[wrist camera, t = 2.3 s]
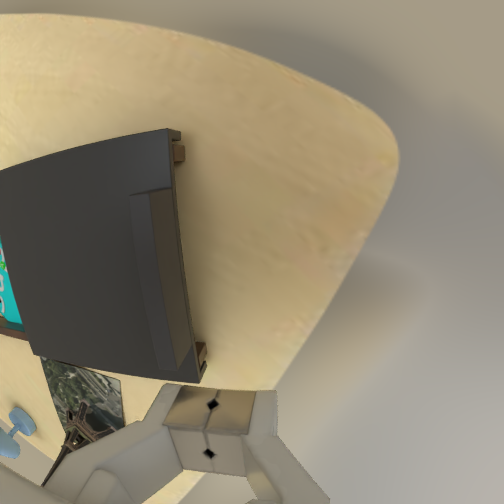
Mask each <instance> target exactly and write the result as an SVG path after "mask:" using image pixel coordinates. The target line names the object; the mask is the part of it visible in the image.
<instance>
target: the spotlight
mask: <svg viewBox="0 0 504 504" xmlns="http://www.w3.org/2000/svg"><path fill="white" fill-rule="evenodd" d="M9 418H10V420H11V421H12V423H13V424H14V427H13V428H12V430H11V431H10V432H9V433H8V434H7V433H6V432H5V431H4V430H3V429H2V428H1V427H0V455H2V456H6V457H10V458H14V459H15V458H17V457H18V456H19V454H20V446H19V444H18V443H17V442H16V441H15V440H14V439H12V438H13V435H14V434H15V433H16V432H17V431H18V430H19V431H20V432H22V433H23V434H25V435H27V436H30V435H31V434H32V433H33V432H34V431H35V430H36V426H35V423H34V422H33V420H32V419H31V418H30V417H29V416H28V414H27V413H25V412H24V411H23V410H22V409H20V408H18V407H15V408H14V409H13V410H12V411H11V412H10V413H9Z"/></svg>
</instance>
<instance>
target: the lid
mask: <svg viewBox="0 0 504 504" xmlns="http://www.w3.org/2000/svg"><path fill="white" fill-rule="evenodd" d="M180 140H181V132H180V131H176V130H172V129H168V128H166V129H160V130H154V131H148V132H143V133H137V134H132V135H127V136H122V137H117V138H113V139H108V140H104V141H99V142H95V143H91V144H87V145H83V146H79V147H75V148H71V149H67V150H64V151H60V152H56V153H53V154H49V155H46V156H43V157H39V158H36V159H33V160H30V161H27V162H24V163H21V164H18V165H15V166H12V167H9V168H6V169H3V170H0V239H1V244H2V249H3V254H4V259H5V263H6V268H7V272H8V276H9V280H10V284H11V288H12V291H13V295H14V298H15V302H16V305H17V308H18V312H19V315H20V318H21V321H22V324H23V327H24V330H25V333H26V335H27V338H28V341H29V344H30V346H31V349H32V351H33V354H34V355H37V356H41V357H44V358H48V359H52V360H56V361H60V362H65V363H69V364H73V365H78V366H83V367H87V368H92V369H97V370H103V371H108V372H114V373H119V374H125V375H132V376H138V377H145V378H152V379H160V380H168V381H177V382H186V383H197V384H199V383H200V381H201V379H202V377H203V374H204V372H205V370H206V367H207V364H206V361H203V363H202V365H201V368H199V363H198V357H197V351H196V346H195V340H194V334H193V327H192V321H191V315H190V308H189V301H188V294H187V287H186V280H185V272H184V264H183V256H182V248H181V239H180V230H179V221H178V211H177V200H176V189H175V177H174V164H173V149H172V142H173V141H180Z"/></svg>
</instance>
